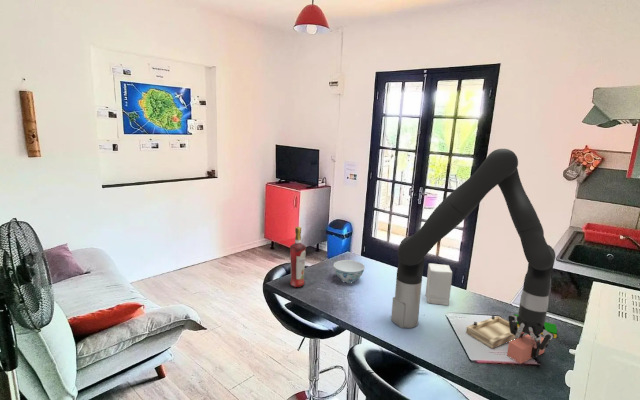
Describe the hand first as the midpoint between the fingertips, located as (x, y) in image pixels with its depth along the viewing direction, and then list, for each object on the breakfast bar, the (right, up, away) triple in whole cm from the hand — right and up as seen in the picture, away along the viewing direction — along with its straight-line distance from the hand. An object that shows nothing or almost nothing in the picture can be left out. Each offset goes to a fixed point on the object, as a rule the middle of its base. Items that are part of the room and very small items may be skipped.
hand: (526, 352), depth 112 cm
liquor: (-79, +10, +46) cm, 92 cm away
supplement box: (-17, +6, +36) cm, 41 cm away
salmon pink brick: (0, -1, 0) cm, 1 cm away
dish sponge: (+13, +1, +16) cm, 21 cm away
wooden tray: (-5, +2, +11) cm, 12 cm away
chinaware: (-54, +11, +54) cm, 77 cm away
